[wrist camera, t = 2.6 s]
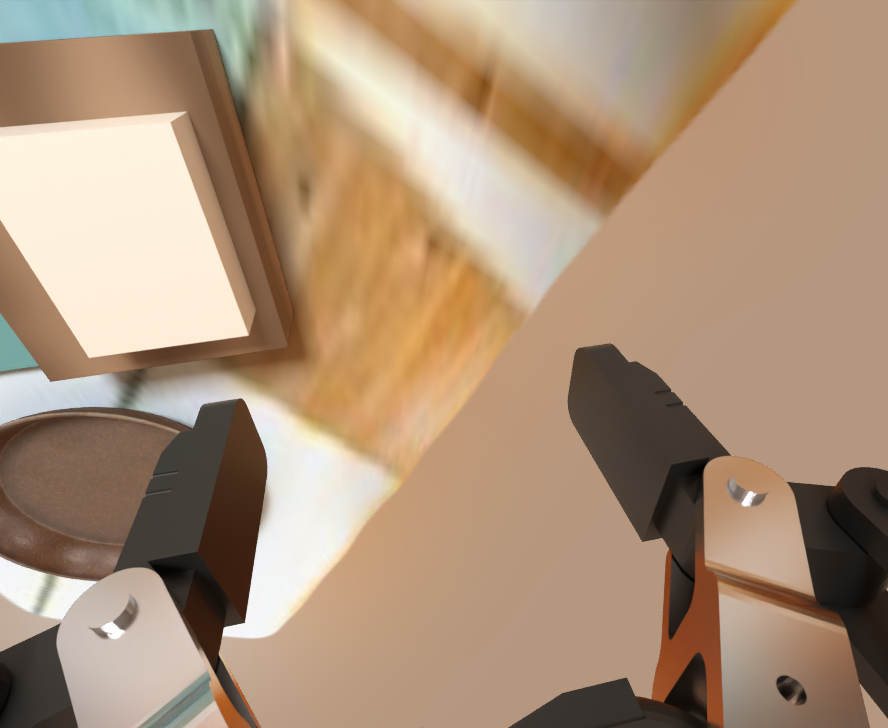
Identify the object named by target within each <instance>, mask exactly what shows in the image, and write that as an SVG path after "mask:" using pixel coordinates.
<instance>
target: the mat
mask: <svg viewBox="0 0 888 728" xmlns="http://www.w3.org/2000/svg"><path fill="white" fill-rule="evenodd" d="M35 366H39V365H38V364H37V363H36V361H35V360H34V359H33V357H32V356H31V354H30V353H29V352H28V350H27V349H26V348H25V346H24V345H23V344H22V342H21V341H20V339H19V338H18V337H17V335H16V334H15V333H14V331H13V330H12V329H11V327H10V326H9V324H8V323H7V322H6V320H5V319H4V318H3V316H2V315H1V314H0V371H7V370H14V369H21V368H28V367H35Z"/></svg>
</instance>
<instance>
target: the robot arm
mask: <svg viewBox="0 0 888 728" xmlns="http://www.w3.org/2000/svg"><path fill="white" fill-rule="evenodd" d="M568 409H569V414H570V417H571V420H572V423H573V424H574V426H575V428H576V430H577V431H578V433H579V435H580V436H581V438H582V440H583V442H584V443H585V445H586V447H587V448H588V450H589V452H590V454H591V455H592V457H593V458H594V460H595V462H596V464H597V465H598V467H599V469H600V471H601V472H602V474H603V476H604V477H605V479H606V481H607V482H608V484H609V486H610V488H611V489H612V491H613V492H614V494H615V496H616V498H617V499H618V501H619V503H620V504H621V506H622V508H623V510H624V511H625V513H626V515H627V516H628V518H629V520H630V521H631V523H632V525H633V526H634V528H635V530H636V532H637V533H638V535H639V537H640V539H641V540H642V542H644V541H649V540H654V539H659V538H663V539H664V541H665V543H666V544H667V546H668V547H669V551H668V553H667V556H666V566H665V584H664V604H663V622H662V640H661V649H660V655H659V660H658V664H657V667H656V672H655V677H654V683H653V690H652V699H647V698H643V697H637V696H635V695H634V693H633V690H632V688H631V686H630V683H629V681H628V679H627V678H623V679H619V680H615V681H611V682H606V683H602V684H598V685H594V686H590V687H586V688H582V689H578V690H574V691H570V692H566V693H562V694H561V695H559V696H558V697H556V698H554V699H553V700H551V701H549V702H548V703H546V704H545V705H543V706H542V707H540V708H539V709H537V710H535V711H534V712H533V713H531V714H529V715H528V716H526V717H525V718H523V719H521V720H520V721H518V722H517V723H515V724H513V725H512V726H511V727H509V728H870V725H869V721H868V717H867V713H866V709H865V705H864V700H863V696H862V692H861V688H860V684H861V685H862V686H863V688H864V689H865V690H866V692H867V693H868V694H869V695H870V697H871V698H872V699H873V700H874V702H875V703H876V704H877V705H878V707H879V708H880V709H881V711H882V712H883V713H884V714H885V716H886V717H887V718H888V591H887V590H886V589H887V588H888V471H886V470H882V469H877V468H870V467H860V468H854V469H851V470H849V471H847V472H846V473H845V474H844V475H843V476H842V478H841V479H840V481H839V482H838V483H837V485H836V486H824V485H813V484H803V483H791V482H786V481H785V480H784V479H783V478H782V477H781V476H780V475H778V474H777V473H776V472H775V471H773V470H772V469H770V468H769V467H767V466H765V465H763V464H761V463H759V462H757V461H754V460H751V459H748V458H744V457H738V456H731V455H730V454H729V453H728V452H727V450H726V449H725V448H724V447H723V446H722V445H721V444H720V443H719V442H718V440H717V439H716V438H715V437H714V436H713V435H712V434H711V433H710V432H709V431H708V429H707V428H706V427H705V426H704V425H703V424H702V423H701V422H700V421H699V420H698V419H697V417H696V416H695V415H694V414H693V413H692V412H691V411H690V410H689V409H688V408H687V406H683V402H682V401H681V400H680V399H679V398H678V397H677V396H676V394H675V393H674V392H673V393H672V392H671V389H670V388H669V387H668V385H667V384H666V383H665V382H664V381H663V380H662V379H661V378H660V377H659V376H658V375H657V374H656V373H655V372H653V371H651V370H650V369H648V368H646V367H645V366H643V365H641V364H640V363H638V362H628V361H627V360H626V359H625V357H624V356H623V355H622V354H621V353H620V352H619V350H618V349H617V348H616V347H615V346H614V345H613V344H603V345H597V346H590V347H583V348H579V349H577V350H576V352H575V355H574V361H573V369H572V375H571V381H570V387H569V394H568ZM266 479H267V459H266V453H265V449H264V446H263V444H262V441H261V439H260V437H259V434H258V432H257V429H256V427H255V424H254V422H253V419H252V417H251V414H250V412H249V410H248V407H247V405H246V403H245V401H244V400H243V399H234V400H227V401H221V402H214V403H208V404H204V405H202V407H201V408H200V411H199V414H198V417H197V419H196V422H195V425H194V428H193V430H192V431H185V432H179V434H178V435H177V436H176V437H175V438H174V439H173V440H172V441H171V443H170V444H169V445H168V446H167V447H166V448H165V449H164V450H163V451H162V453H161V455H160V457H159V460H158V462H157V465H156V467H155V470H154V472H153V479H151V480H150V482H149V485H148V487H147V489H146V492H145V494H146V497H144V498H143V499H142V502H141V504H140V507H139V509H138V512H137V514H136V517H135V519H134V522H133V524H132V527H131V529H130V532H129V534H128V537H127V539H126V542H125V544H124V547H123V549H122V551H121V554H120V556H119V559H118V561H117V564H116V566H115V569H114V571H113V573H112V574H111V575H109V576H107V577H105V578H103V579H102V580H100V581H98V582H97V583H96V584H94V585H93V586H91V587H90V588H89V589H88V590H87V591H85V592H84V593H83V594H82V595H81V596H80V597H79V598H78V599H77V600H76V601H75V603H74V604H73V605H72V606H71V608H70V609H69V610H68V612H67V613H66V615H65V617H64V618H63V620H62V623H60V624H58V625H56V626H54V627H52V628H50V629H48V630H46V631H44V632H42V633H40V634H38V635H35V636H33V637H32V638H29V639H27V640H25V641H23V642H21V643H18V644H16V645H14V646H12V647H10V648H8V649H6V650H4V651H1V652H0V728H261V726H260V724H259V722H258V721H257V719H256V717H255V715H254V713H253V711H252V709H251V708H250V706H249V704H248V702H247V700H246V699H245V697H244V695H243V693H242V691H241V689H240V687H239V685H238V683H237V682H236V680H235V678H234V676H233V674H232V672H231V670H230V669H229V667H228V665H227V663H226V661H225V659H224V657H223V656H222V654H221V653H220V651H219V650H220V645H221V639H222V634H223V628H224V627H227V626H232V625H237V624H242V623H245V618H246V611H247V605H248V598H249V592H250V585H251V578H252V572H253V565H254V558H255V552H256V545H257V539H258V532H259V525H260V519H261V512H262V505H263V499H264V492H265V486H266Z"/></svg>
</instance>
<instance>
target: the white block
mask: <svg viewBox="0 0 888 728" xmlns="http://www.w3.org/2000/svg"><path fill="white" fill-rule="evenodd" d="M0 220H1V222H2V223H3V225H4V226H5V228H6V230H7V231H8V233H9V234H10V236H11V237H12V239H13V240H14V242H15V244H16V245H17V247H18V248H19V250H20V251H21V253H22V255H23V256H24V258H25V259H26V261H27V262H28V264H29V265H30V267H31V269H32V270H33V272H34V273H35V275H36V276H37V278H38V279H39V281H40V283H41V284H42V286H43V287H44V289H45V290H46V292H47V293H48V295H49V297H50V298H51V300H52V301H53V303H54V304H55V306H56V307H57V309H58V311H59V312H60V314H61V315H62V317H63V318H64V320H65V321H66V323H67V325H68V326H69V328H70V329H71V331H72V332H73V334H74V335H75V337H76V339H77V340H78V342H79V343H80V345H81V346H82V348H83V350H84V351H85V353H86V354H87V356H88V357H89V358H92V357H100V356H107V355H114V354H121V353H128V352H135V351H142V350H149V349H157V348H164V347H171V346H178V345H185V344H192V343H199V342H207V341H214V340H221V339H228V338H235V337H242V336H249V333H250V329H251V326H252V322H253V319H254V315H255V311H256V309H255V306H254V303H253V300H252V298H251V295H250V292H249V289H248V286H247V283H246V280H245V277H244V274H243V271H242V269H241V266H240V263H239V260H238V257H237V254H236V251H235V248H234V245H233V242H232V239H231V237H230V234H229V231H228V228H227V225H226V222H225V219H224V216H223V213H222V210H221V207H220V205H219V202H218V199H217V196H216V193H215V190H214V187H213V184H212V181H211V178H210V175H209V173H208V170H207V167H206V164H205V161H204V158H203V155H202V152H201V149H200V146H199V143H198V141H197V138H196V135H195V132H194V129H193V126H192V123H191V120H190V117H189V114H188V112H175V113H164V114H152V115H140V116H128V117H117V118H105V119H93V120H81V121H69V122H58V123H46V124H34V125H22V126H11V127H0Z"/></svg>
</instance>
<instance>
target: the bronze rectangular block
mask: <svg viewBox="0 0 888 728" xmlns="http://www.w3.org/2000/svg"><path fill="white" fill-rule="evenodd" d="M175 112H188V114H189V117H190V120H191V123H192V126H193V129H194V132H195V135H196V138H197V141H198V143H199V146H200V149H201V152H202V155H203V158H204V161H205V164H206V167H207V170H208V173H209V175H210V178H211V181H212V184H213V187H214V190H215V193H216V196H217V199H218V202H219V205H220V207H221V210H222V213H223V216H224V219H225V222H226V225H227V228H228V231H229V234H230V237H231V239H232V242H233V245H234V248H235V251H236V254H237V257H238V260H239V263H240V266H241V269H242V271H243V274H244V277H245V280H246V283H247V286H248V289H249V292H250V295H251V298H252V300H253V303H254V306H255V309H256V311H255V315H254V319H253V322H252V326H251V329H250V333H249V336H242V337H235V338H228V339H221V340H214V341H207V342H199V343H192V344H185V345H178V346H171V347H164V348H157V349H149V350H142V351H135V352H128V353H121V354H114V355H107V356H100V357H92V358H89V357H88V356H87V354H86V353H85V351H84V350H83V348H82V346H81V345H80V343H79V342H78V340H77V339H76V337H75V335H74V334H73V332H72V331H71V329H70V328H69V326H68V325H67V323H66V321H65V320H64V318H63V317H62V315H61V314H60V312H59V311H58V309H57V307H56V306H55V304H54V303H53V301H52V300H51V298H50V297H49V295H48V293H47V292H46V290H45V289H44V287H43V286H42V284H41V283H40V281H39V279H38V278H37V276H36V275H35V273H34V272H33V270H32V269H31V267H30V265H29V264H28V262H27V261H26V259H25V258H24V256H23V255H22V253H21V251H20V250H19V248H18V247H17V245H16V244H15V242H14V240H13V239H12V237H11V236H10V234H9V233H8V231H7V230H6V228H5V226H4V225H3V223H2V222H1V220H0V314H1V315H2V316H3V318H4V319H5V320H6V322H7V323H8V324H9V326H10V327H11V329H12V330H13V331H14V333H15V334H16V335H17V337H18V338H19V339H20V341H21V342H22V344H23V345H24V346H25V348H26V349H27V350H28V352H29V353H30V354H31V356H32V357H33V359H34V360H35V361H36V363H37V364H38V365H39V367H40V368H41V369H42V371H43V372H44V374H45V375H46V376H47V378H48V379H49V380H50V382H52V381H59V380H66V379H73V378H80V377H87V376H93V375H100V374H107V373H114V372H121V371H128V370H135V369H142V368H149V367H156V366H163V365H170V364H177V363H183V362H190V361H197V360H204V359H211V358H218V357H225V356H232V355H239V354H246V353H253V352H260V351H267V350H274V349H280V348H287V347H289V340H290V333H291V326H292V319H293V312H294V310H293V307H292V303H291V300H290V296H289V293H288V289H287V286H286V282H285V279H284V275H283V272H282V268H281V265H280V261H279V258H278V254H277V251H276V247H275V244H274V240H273V237H272V233H271V230H270V226H269V223H268V219H267V216H266V212H265V209H264V205H263V202H262V199H261V195H260V192H259V188H258V185H257V181H256V178H255V174H254V171H253V167H252V164H251V160H250V157H249V153H248V150H247V146H246V143H245V139H244V136H243V132H242V129H241V125H240V122H239V118H238V115H237V111H236V108H235V104H234V101H233V97H232V94H231V91H230V87H229V84H228V80H227V77H226V73H225V70H224V66H223V63H222V59H221V56H220V52H219V49H218V45H217V42H216V38H215V35H214V31H213V29H209V30H194V31H179V32H164V33H149V34H133V35H118V36H103V37H88V38H73V39H58V40H43V41H27V42H12V43H0V127H11V126H22V125H34V124H46V123H58V122H69V121H81V120H93V119H105V118H117V117H128V116H140V115H152V114H164V113H175Z"/></svg>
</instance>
